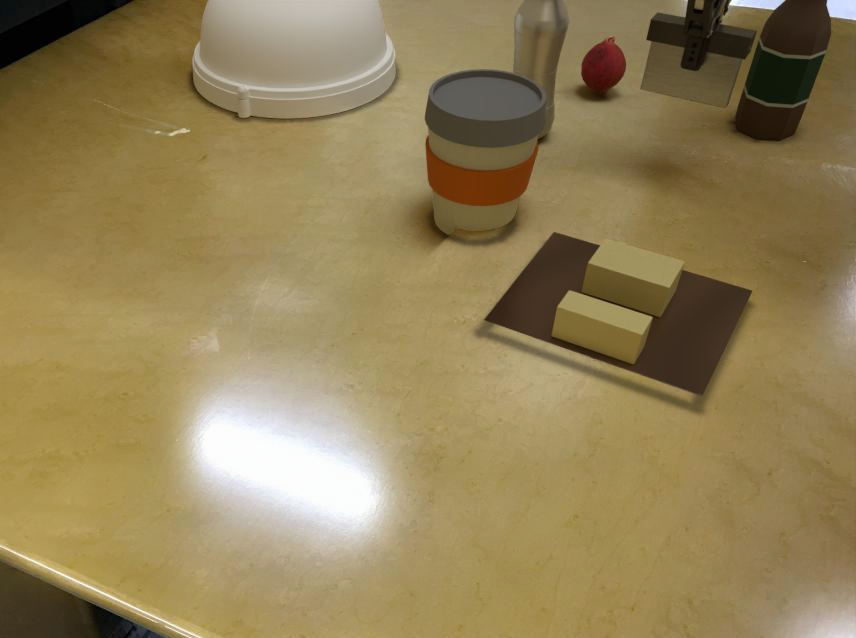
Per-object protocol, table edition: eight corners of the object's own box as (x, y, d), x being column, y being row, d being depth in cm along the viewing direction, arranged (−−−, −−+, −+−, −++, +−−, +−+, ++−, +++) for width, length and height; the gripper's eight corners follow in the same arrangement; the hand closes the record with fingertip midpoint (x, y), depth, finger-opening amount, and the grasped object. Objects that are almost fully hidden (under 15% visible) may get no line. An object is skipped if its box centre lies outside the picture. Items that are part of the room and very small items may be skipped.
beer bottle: (721, 117, 119) (781, -81, 103) (775, 110, 120) (843, -86, 104) (752, 144, 114) (820, -60, 97) (808, 137, 115) (886, -66, 98)
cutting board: (748, 302, 91) (753, 290, 90) (697, 408, 80) (702, 396, 79) (551, 242, 99) (553, 231, 98) (481, 331, 88) (483, 319, 87)
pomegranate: (599, 106, 122) (611, 48, 117) (567, 92, 126) (578, 34, 120) (628, 94, 125) (641, 37, 119) (596, 80, 128) (607, 24, 123)
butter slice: (644, 347, 84) (653, 316, 81) (633, 365, 82) (642, 334, 80) (562, 319, 87) (569, 289, 85) (550, 336, 85) (556, 306, 83)
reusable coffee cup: (511, 260, 97) (530, 131, 86) (402, 235, 101) (408, 109, 90) (541, 203, 105) (562, 78, 95) (439, 182, 109) (448, 60, 99)
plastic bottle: (525, 151, 114) (549, -13, 100) (489, 130, 118) (508, -30, 104) (561, 137, 116) (590, -25, 103) (525, 117, 121) (549, -41, 107)
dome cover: (257, 19, 148) (251, -74, 138) (428, 47, 138) (434, -51, 128) (149, 98, 128) (133, -4, 118) (340, 138, 118) (340, 30, 108)
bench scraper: (734, 103, 104) (757, 30, 98) (728, 111, 103) (751, 38, 97) (640, 83, 108) (657, 12, 103) (634, 90, 107) (650, 19, 101)
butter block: (675, 291, 90) (685, 261, 87) (660, 317, 87) (669, 287, 84) (598, 267, 93) (605, 237, 91) (581, 292, 90) (587, 262, 88)
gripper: (762, -81, 85) (710, 94, 97) (794, -117, 93) (743, 48, 105) (682, -92, 88) (642, 79, 100) (720, -126, 96) (678, 36, 108)
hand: (694, 63), depth 103 cm, fingers closed on bench scraper, 2 cm apart
